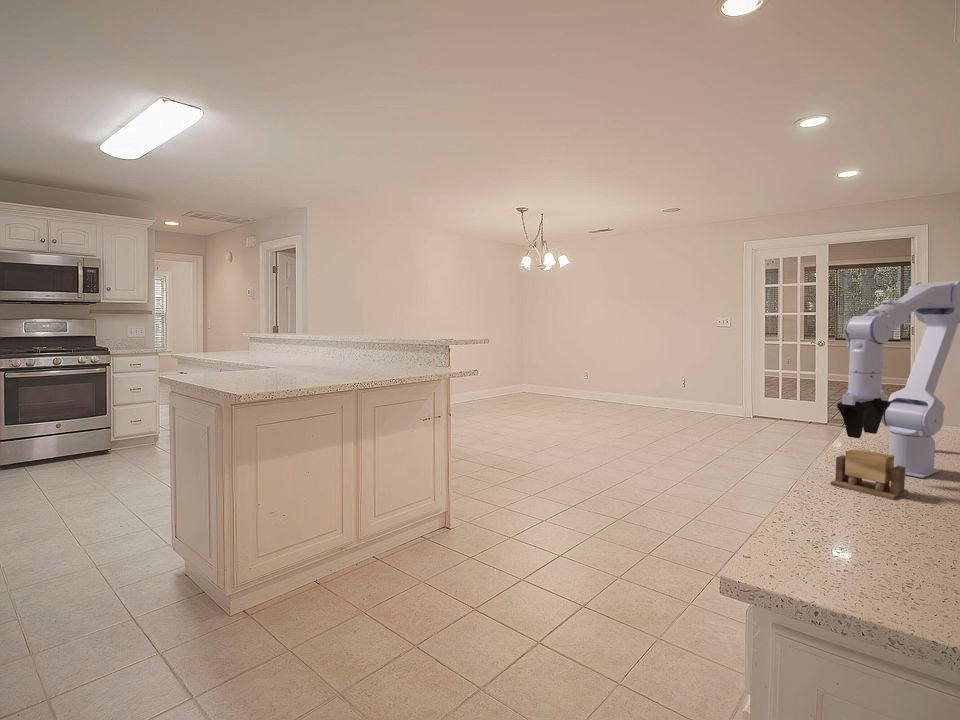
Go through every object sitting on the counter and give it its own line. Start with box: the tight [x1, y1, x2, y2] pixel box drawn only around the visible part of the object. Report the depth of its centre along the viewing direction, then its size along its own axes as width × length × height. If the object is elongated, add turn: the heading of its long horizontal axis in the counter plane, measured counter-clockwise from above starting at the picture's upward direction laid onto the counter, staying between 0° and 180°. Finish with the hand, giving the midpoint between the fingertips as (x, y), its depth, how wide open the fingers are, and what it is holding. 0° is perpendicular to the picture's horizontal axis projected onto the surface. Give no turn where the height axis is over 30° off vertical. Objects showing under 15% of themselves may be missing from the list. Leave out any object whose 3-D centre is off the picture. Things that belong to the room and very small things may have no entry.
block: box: [845, 448, 894, 483], centre depth 107 cm, size 4×7×5 cm, turn 32°
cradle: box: [830, 454, 909, 501], centre depth 107 cm, size 7×11×6 cm, turn 32°
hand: (862, 435), depth 112 cm, fingers open, 7 cm apart
